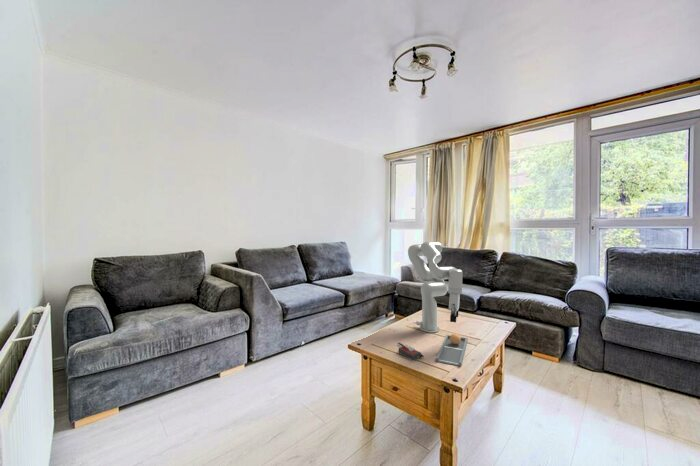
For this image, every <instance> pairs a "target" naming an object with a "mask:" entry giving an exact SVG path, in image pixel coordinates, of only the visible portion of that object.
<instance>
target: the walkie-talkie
mask: <svg viewBox="0 0 700 466" xmlns="http://www.w3.org/2000/svg"><path fill="white" fill-rule="evenodd" d="M397 344H398V345H399V347H398V352H399V353H398V354H399V355H401V356H403V355H404V356H403V357H406V358H407V359H409V358H410V359H409V360H412V361H416V360H418V359H421V358H424V355H423V354H422V352H421V351H418V350H416V349H415V347H413V346H411V345H407V344H403V343H401V342H398V343H397Z"/></svg>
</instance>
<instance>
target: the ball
mask: <svg viewBox="0 0 700 466" xmlns="http://www.w3.org/2000/svg"><path fill="white" fill-rule="evenodd" d="M450 335H451V336H450V342H451V343H452V344H454V345H458V344H459V343H460V341H461V339H460V337H461V336H460V335H459V334H458V333H452V334H450Z"/></svg>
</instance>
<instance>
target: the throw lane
mask: <svg viewBox="0 0 700 466" xmlns="http://www.w3.org/2000/svg"><path fill="white" fill-rule="evenodd" d="M451 335H452V334H446V336H445V337H444V340H443V342H442V344H441V346H440V349H439V350H438V353H437V355H436V359H435V360H436V361H435V362H436V363H442V364H446V365H450V366H456V367H462V366H463V365H462V364H463V361H464V357H465V353H466V348H467V346H468V345H467V344H468V338H467V337H462V336H460V339H461V341H460V343H459V344H458V345H454V344H452V343H451V342H450V336H451Z"/></svg>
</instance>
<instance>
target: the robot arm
mask: <svg viewBox="0 0 700 466" xmlns="http://www.w3.org/2000/svg"><path fill="white" fill-rule="evenodd" d="M442 252H443V245H442V243H440V242H438V241H425V242H423V243H422V244H421V243H418V244H411V245H410V246H409V247H408V250H407V254H408V255H407V256H408V258H409V259H408V260H409V261H410V262H411V264H412V265H413V268H414V270H415V273H416V276H417V278H418V281H420V282H421V283H422V284H421V286H420V294H421V303H422V305H421V308H422V309H421V311H422V316H421V320H420V321H418V320H416V321H415V324H416V326H419V330H420V331H422V332H425V333H434V334H435V333H438V332H439V331H440V327H438V305H437V304H438V303H437V300H436V299H435V297H442V296H445V295H447V292H448V294H449V301H448V311H450V316H449V320H450V322H451V323H454V324H455V323H457V318H458V317H459V308H460V302H461V301H460V299H461V296H460V295H462V294H463V274H464V273H463V270H462V269H460V268H459V269H458V268H456V267H454V266H438V265H437V264H439V263H440V262H441V260H442V258H443V257H442V254H441V253H442ZM421 257H425V258H426V259H427V261H428V265H427V263H426V261H425V260H424V259H423V258H421ZM445 280H448V285H447V284H446V282H445ZM447 286H448V287H447Z"/></svg>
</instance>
